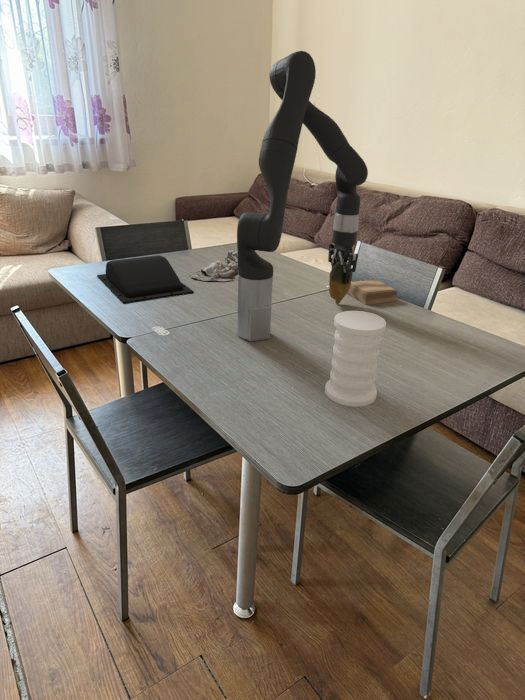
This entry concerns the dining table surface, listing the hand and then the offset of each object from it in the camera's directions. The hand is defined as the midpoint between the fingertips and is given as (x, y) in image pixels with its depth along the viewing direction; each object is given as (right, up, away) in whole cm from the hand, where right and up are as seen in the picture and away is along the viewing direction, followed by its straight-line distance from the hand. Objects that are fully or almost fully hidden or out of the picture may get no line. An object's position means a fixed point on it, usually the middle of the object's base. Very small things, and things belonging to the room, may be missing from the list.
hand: (339, 280), depth 164 cm
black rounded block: (-66, 0, +14) cm, 68 cm away
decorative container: (-5, -32, -48) cm, 58 cm away
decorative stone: (0, -8, +4) cm, 8 cm away
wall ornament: (-38, +6, +29) cm, 48 cm away
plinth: (+12, -4, +11) cm, 17 cm away
